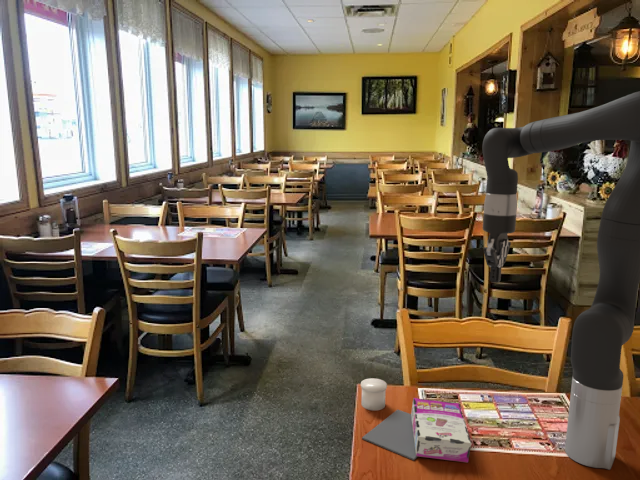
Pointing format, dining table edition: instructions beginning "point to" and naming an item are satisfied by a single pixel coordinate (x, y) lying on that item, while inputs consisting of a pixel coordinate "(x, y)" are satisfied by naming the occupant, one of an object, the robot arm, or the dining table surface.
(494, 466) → the dining table surface
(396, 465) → the dining table surface
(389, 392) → the dining table surface
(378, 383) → the sugar bowl
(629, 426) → the dining table surface
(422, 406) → the candy bar box
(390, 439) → the mat
